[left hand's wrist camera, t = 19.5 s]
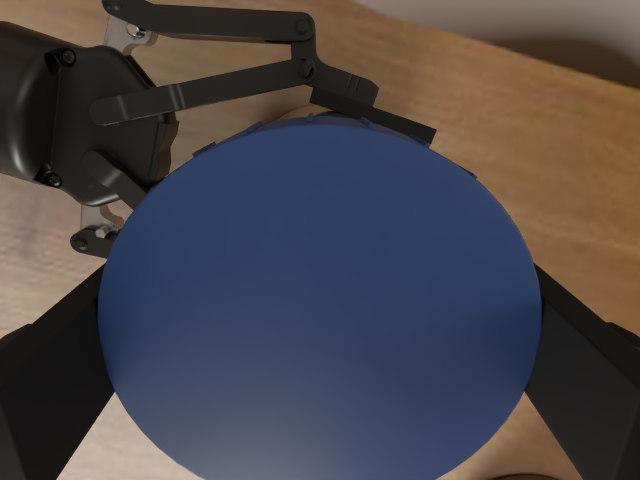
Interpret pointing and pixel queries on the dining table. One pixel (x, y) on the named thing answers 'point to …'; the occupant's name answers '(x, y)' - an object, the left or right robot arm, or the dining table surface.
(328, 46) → the dining table surface
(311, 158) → the lid
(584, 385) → the left robot arm
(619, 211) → the dining table surface
